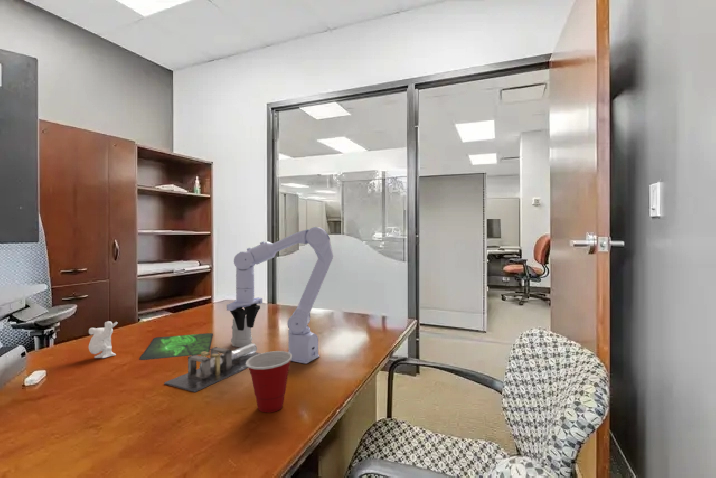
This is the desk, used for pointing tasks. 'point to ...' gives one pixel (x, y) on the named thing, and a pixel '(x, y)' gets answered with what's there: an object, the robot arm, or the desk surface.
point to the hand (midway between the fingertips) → (245, 328)
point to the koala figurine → (102, 340)
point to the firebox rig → (203, 379)
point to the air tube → (234, 355)
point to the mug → (241, 335)
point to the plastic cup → (269, 378)
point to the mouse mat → (177, 346)
